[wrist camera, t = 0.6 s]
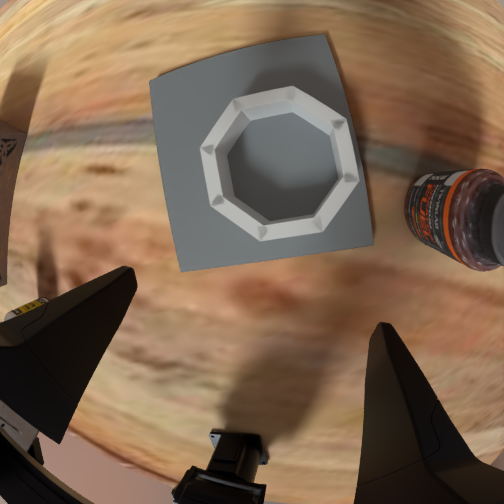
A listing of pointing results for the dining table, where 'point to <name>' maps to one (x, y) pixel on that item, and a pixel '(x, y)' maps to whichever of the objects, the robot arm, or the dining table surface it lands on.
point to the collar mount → (259, 156)
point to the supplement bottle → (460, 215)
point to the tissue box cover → (8, 184)
